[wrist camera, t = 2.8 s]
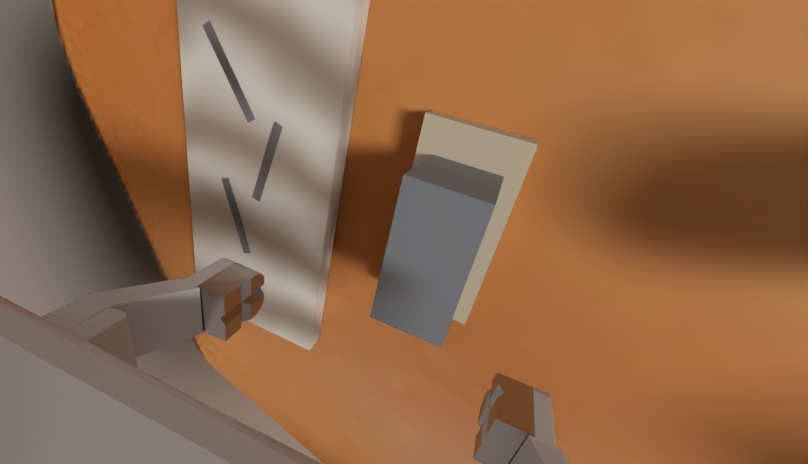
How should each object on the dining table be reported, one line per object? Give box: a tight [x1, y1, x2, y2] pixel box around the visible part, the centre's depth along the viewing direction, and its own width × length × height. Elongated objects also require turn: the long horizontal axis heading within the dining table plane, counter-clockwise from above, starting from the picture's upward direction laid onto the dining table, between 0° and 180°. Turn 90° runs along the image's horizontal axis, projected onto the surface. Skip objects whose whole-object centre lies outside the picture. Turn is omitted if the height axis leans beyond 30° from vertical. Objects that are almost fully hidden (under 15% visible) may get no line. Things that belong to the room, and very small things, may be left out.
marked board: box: [177, 0, 370, 350], centre depth 24 cm, size 30×12×2 cm, turn 167°
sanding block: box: [370, 111, 538, 347], centre depth 19 cm, size 12×6×7 cm, turn 167°
